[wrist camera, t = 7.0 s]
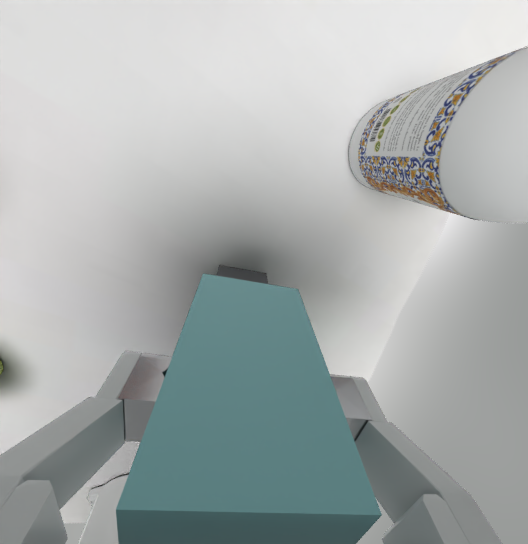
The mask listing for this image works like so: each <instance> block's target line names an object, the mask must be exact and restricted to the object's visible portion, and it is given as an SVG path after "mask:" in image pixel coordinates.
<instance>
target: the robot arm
mask: <svg viewBox="0 0 528 544" xmlns="http://www.w3.org/2000/svg"><path fill="white" fill-rule="evenodd" d="M171 359H172V357H171V356H164V355H157V354H150V353H140V352H133V351H125V352H124V353H123V354H122V355H121V357H120V358H119V360H118V361H117V363H116V365H115V366H114V368H113V369H112V371H111V373H110V374H109V376H108V377H107V379H106V381H105V382H104V384H103V386H102V387H101V389H100V390H99V392H98V394H97V395H96V397H89V398H87V399H86V400H84V401H82V402H81V403H79V404H78V405H76V406H75V407H73V408H72V409H70V410H69V411H67V412H66V413H64V414H63V415H61V416H60V417H58V418H56V419H55V420H53V421H52V422H50V423H49V424H47V425H46V426H44V427H43V428H41V429H40V430H38V431H37V432H35V433H34V434H32V435H30V436H29V437H27V438H26V439H24V440H23V441H21V442H20V443H18V444H17V445H15V446H14V447H12V448H11V449H9V450H8V451H6V452H4V453H3V454H1V455H0V544H65V543H66V541H67V534H66V530H65V527H64V523H63V520H62V517H61V514H60V509H61V508H62V507H63V506H64V505H65V504H66V503H67V502H68V500H69V499H70V498H71V497H72V496H73V495H74V494H75V493H76V492H77V491H78V490H79V489H80V488H81V487H82V486H83V485H84V484H85V483H86V482H87V481H88V480H89V479H90V478H91V477H92V476H93V475H94V474H95V473H96V472H97V471H98V470H99V469H100V468H101V467H102V466H103V465H104V464H105V463H106V462H107V461H108V460H109V459H110V458H111V457H112V456H113V454H114V453H115V452H116V451H117V450H118V449H119V448H120V447H121V446H122V445H123V444H124V441H138V442H141V440H142V437H143V435H144V432H145V429H146V426H147V424H148V421H149V418H150V416H151V413H152V410H153V408H154V405H155V402H156V399H157V397H158V394H159V391H160V389H161V386H162V383H163V381H164V378H165V375H166V372H167V370H168V367H169V364H170V362H171ZM330 377H331V380H332V382H333V385H334V388H335V390H336V393H337V396H338V398H339V401H340V404H341V406H342V409H343V412H344V415H345V417H346V420H347V423H348V425H349V428H350V431H351V433H352V436H353V439H354V442H355V444H356V447H357V450H358V452H359V455H360V458H361V460H362V463H363V466H364V468H365V471H366V474H367V477H368V479H369V482H370V485H371V487H372V490H373V493H374V495H375V497H376V499H377V500H378V502H379V503H380V504H381V506H382V507H383V509H384V510H385V511H386V513H387V514H388V516H389V517H390V518H391V520H392V521H393V522H394V524H393V525H392V526H391V527H390V528H389V529H388V530H387V531H386V532H385V533H384V535H383V538H382V540H383V543H384V544H502V542H501V540H500V539H499V537H498V536H497V534H496V533H495V531H494V530H493V528H492V527H491V525H490V523H489V522H488V520H487V519H486V517H485V516H484V514H483V513H482V511H481V510H480V508H479V506H478V505H477V503H476V502H475V500H474V499H473V497H472V496H471V494H470V493H469V492H467V491H466V490H465V489H464V488H463V487H462V486H460V484H459V483H458V482H456V481H455V480H454V479H453V478H452V477H451V476H450V475H449V474H448V473H447V472H445V471H444V470H443V469H442V468H441V467H440V466H439V465H438V464H436V462H435V461H433V460H432V459H431V458H430V457H429V456H428V455H427V454H426V453H425V452H423V451H422V450H421V449H420V448H419V447H418V446H417V445H416V444H415V443H414V442H413V441H412V440H410V439H409V438H408V437H407V436H406V435H405V434H404V433H403V432H402V431H401V430H399V429H398V428H397V427H396V426H395V425H394V424H393V423H391V422H387V420H386V418H385V416H384V414H383V412H382V410H381V408H380V406H379V404H378V402H377V401H376V399H375V397H374V395H373V393H372V391H371V389H370V387H369V385H368V383H367V381H366V380H365V379H364V378H362V377H352V376H344V375H334V374H330ZM127 478H128V475H125V476H121V477H118V478H115V479H113V480H111V481H110V482H108V483H107V484H105V485H104V486H101V487H97V488H94V489H91V490H90V491H89V494H88V497H87V499H88V501H89V503H90V504H91V506H92V509H91V512H90V514H89V517H88V519H87V522H86V524H85V527H84V529H83V532H82V534H81V537H80V539H79V542H78V544H119V541H118V530H117V518H116V508H117V505H118V502H119V499H120V497H121V494H122V491H123V489H124V486H125V483H126V481H127Z"/></svg>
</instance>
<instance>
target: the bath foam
mask: <svg viewBox="0 0 528 544" xmlns="http://www.w3.org/2000/svg"><path fill="white" fill-rule="evenodd" d="M526 47H527V46H526ZM349 162H350V166H351V169H352V172H353V174H354V175H355V177H356V178H357V180H358V181H359V182H360V183H362V184H363V185H365V186H366V187H368V188H371V189H374V190H377V191H380V192H383V193H386V194H390V195H393V196H397V197H400V198H403V199H407V200H410V201H413V202H417V203H420V204H423V205H427V206H430V207H434V208H437V209H440V210H444V211H447V212H450V213H454V214H457V215H461V216H464V217H468V218H471V219H475V220H482V221H488V222H497V223H528V47H527V48H525V47H524V49H523V48H521V49H519V50H516V51H513V52H511V53H508V54H505V55H503V56H500V57H498V58H495V59H492V60H490V61H487V62H484V63H482V64H479V65H477V66H474V67H471V68H469V69H466V70H464V71H461V72H458V73H456V74H453V75H450V76H448V77H445V78H443V79H440V80H437V81H435V82H432V83H430V84H427V85H424V86H422V87H419V88H416V89H414V90H411V91H409V92H406V93H403V94H401V95H399V96H396V97H394V98H392V99H389V100H386V101H384V102H382V103H380V104H378V105H377V106H375V107H374V108H372V109H371V110H370V111H369V112H368V113H367V114H366V115H365V116H364V117H363V118H362V119H361V121H360V122H359V124H358V125H357V127H356V129H355V131H354V133H353V136H352V138H351V142H350V147H349Z"/></svg>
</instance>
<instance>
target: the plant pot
mask: <svg viewBox="0 0 528 544" xmlns="http://www.w3.org/2000/svg"><path fill="white" fill-rule="evenodd" d="M2 371H3V365H2V362H1V360H0V375H1V373H2Z"/></svg>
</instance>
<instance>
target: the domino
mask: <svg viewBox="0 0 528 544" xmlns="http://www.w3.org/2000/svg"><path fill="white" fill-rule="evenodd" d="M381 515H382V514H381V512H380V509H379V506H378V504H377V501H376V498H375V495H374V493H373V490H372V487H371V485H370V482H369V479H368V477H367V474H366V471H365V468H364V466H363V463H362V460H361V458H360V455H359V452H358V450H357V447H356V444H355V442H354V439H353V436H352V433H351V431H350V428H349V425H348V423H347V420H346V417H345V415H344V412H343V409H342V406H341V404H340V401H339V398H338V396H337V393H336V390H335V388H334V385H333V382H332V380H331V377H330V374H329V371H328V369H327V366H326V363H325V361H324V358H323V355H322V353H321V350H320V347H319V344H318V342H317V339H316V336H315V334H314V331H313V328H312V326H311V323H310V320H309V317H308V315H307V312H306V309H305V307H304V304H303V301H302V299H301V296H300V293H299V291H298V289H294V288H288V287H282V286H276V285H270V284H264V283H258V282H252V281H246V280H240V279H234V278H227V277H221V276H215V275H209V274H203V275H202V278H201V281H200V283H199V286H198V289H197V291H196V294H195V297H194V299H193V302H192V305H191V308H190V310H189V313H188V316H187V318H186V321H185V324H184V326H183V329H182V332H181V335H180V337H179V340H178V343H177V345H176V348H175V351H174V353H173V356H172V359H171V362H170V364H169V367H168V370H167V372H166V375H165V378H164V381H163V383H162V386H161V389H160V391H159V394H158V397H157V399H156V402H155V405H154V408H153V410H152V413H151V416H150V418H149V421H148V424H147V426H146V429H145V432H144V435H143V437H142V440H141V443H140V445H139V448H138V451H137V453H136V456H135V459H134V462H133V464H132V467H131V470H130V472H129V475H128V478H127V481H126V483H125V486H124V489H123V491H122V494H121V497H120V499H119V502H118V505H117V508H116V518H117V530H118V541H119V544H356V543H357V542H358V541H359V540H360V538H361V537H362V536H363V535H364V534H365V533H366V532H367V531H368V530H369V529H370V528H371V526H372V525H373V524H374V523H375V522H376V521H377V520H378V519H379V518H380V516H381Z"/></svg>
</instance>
